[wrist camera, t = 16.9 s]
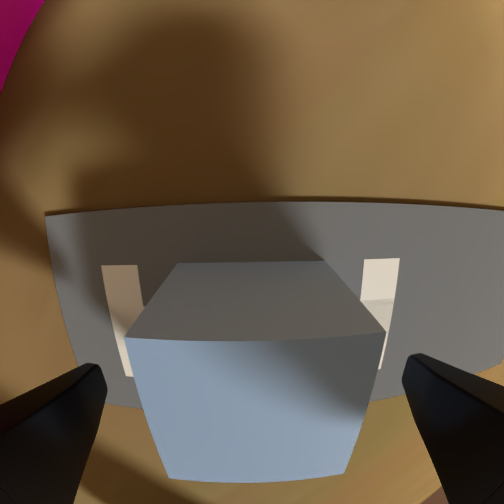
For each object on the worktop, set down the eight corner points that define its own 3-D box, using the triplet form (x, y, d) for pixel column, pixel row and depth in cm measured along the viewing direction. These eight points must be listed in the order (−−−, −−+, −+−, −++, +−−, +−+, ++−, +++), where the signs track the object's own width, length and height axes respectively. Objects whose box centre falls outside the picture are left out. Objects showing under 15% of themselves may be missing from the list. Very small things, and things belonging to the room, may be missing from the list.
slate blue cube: (314, 377, 11) (343, 473, 6) (191, 379, 11) (169, 478, 6) (324, 260, 10) (386, 331, 5) (178, 262, 10) (123, 337, 5)
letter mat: (499, 361, 12) (501, 363, 12) (93, 398, 12) (91, 401, 12) (533, 214, 10) (536, 214, 10) (47, 215, 10) (44, 216, 9)
